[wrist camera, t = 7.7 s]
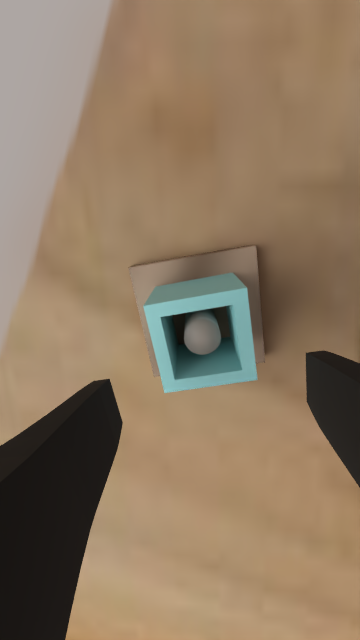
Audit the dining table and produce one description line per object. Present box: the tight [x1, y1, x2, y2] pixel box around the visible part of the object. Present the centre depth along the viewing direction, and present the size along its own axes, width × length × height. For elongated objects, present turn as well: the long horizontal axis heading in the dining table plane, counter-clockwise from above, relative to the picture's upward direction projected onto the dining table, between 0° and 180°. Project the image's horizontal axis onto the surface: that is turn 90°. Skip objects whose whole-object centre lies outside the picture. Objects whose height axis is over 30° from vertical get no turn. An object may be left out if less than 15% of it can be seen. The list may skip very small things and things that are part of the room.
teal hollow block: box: [143, 273, 257, 393], centre depth 15 cm, size 5×5×4 cm
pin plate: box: [129, 245, 265, 377], centre depth 16 cm, size 8×8×4 cm
